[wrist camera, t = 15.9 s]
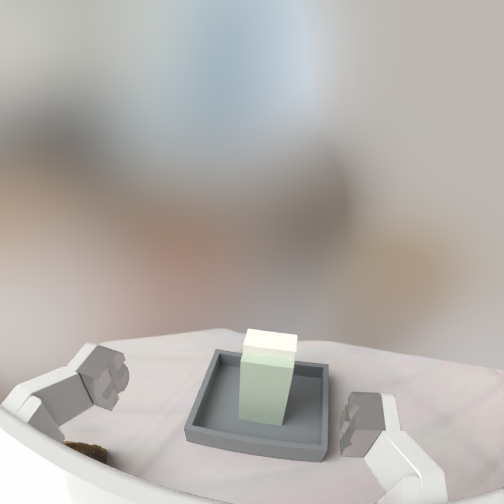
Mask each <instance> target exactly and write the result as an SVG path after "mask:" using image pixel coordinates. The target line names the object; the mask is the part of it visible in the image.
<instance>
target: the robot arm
mask: <svg viewBox="0 0 504 504" xmlns="http://www.w3.org/2000/svg"><path fill="white" fill-rule="evenodd" d="M124 361H125V357H124V354H123V353H121V352H118V351H115V350H112V349H109V348H106V347H103V346H100V345H97V344H94V343H91V342H88V343H86V344H85V345H84V346H83V347H82V349H81V350H80V351H79V352H78V353H77V355H76V356H75V357H74V358H73V359H72V361H71V362H70V363H69V364H68V365H67V366H66V368H65V367H61V368H58V369H56V370H53V371H51V372H49V373H46V374H44V375H41V376H38V377H36V378H34V379H31V380H29V381H26V382H23V383H21V384H18V385H17V386H16V387H15V388H14V390H12V392H11V393H10V394H9V395H8V397H7V398H6V399H5V400H4V401H3V402H2V404H1V405H0V504H233V503H228V502H223V501H218V500H214V499H209V498H205V497H201V496H197V495H193V494H189V493H185V492H182V491H178V490H175V489H171V488H168V487H165V486H161V485H158V484H155V483H152V482H149V481H146V480H144V479H141V478H138V477H135V476H133V475H130V474H127V473H125V472H122V471H120V470H117V469H115V468H112V467H110V466H108V465H105V464H103V463H101V462H99V461H96V460H94V459H92V458H90V457H88V456H86V455H83V454H81V453H79V452H77V451H75V450H73V449H71V448H69V447H68V446H66V445H64V444H62V442H63V441H64V439H65V437H64V434H63V433H62V431H61V430H60V428H59V426H61V425H62V424H64V423H66V422H67V421H69V420H71V419H72V418H74V417H76V416H77V415H79V414H81V413H82V412H84V411H85V410H87V409H89V408H90V407H92V406H93V405H96V406H99V407H102V408H104V409H107V410H110V411H112V409H113V408H114V406H115V405H116V403H117V401H118V400H119V396H118V393H120V392H122V391H124V390H125V388H126V386H127V384H128V381H129V371H128V368H127V367H126V366H125V364H124ZM340 431H341V432H342V433H343V437H342V439H341V441H340V457H360V458H363V459H364V460H365V462H366V463H367V465H368V467H369V468H370V470H371V471H372V473H373V474H374V476H375V477H376V479H377V480H378V482H379V483H380V485H381V486H382V488H383V489H384V491H385V493H386V494H385V495H384V496H383V497H382V498H381V499H380V500H379V501H378V502H377V503H375V504H504V487H503V488H500V489H497V490H494V491H490V492H487V493H484V494H480V495H476V496H473V497H469V498H465V499H461V500H456V501H452V502H448V497H447V490H446V484H445V477H444V472H443V470H442V469H441V468H440V467H439V466H438V465H437V464H436V463H435V462H434V461H433V460H432V459H431V458H430V457H429V456H428V454H427V453H426V452H425V451H424V450H423V449H422V448H421V447H420V446H419V445H418V444H417V443H416V442H415V441H414V440H413V438H412V437H411V436H410V435H409V434H408V433H407V432H406V431H405V430H401V426H400V421H399V415H398V409H397V404H396V399H395V395H394V394H393V393H367V392H351V394H350V395H349V398H348V405H346V406H345V407H344V410H343V412H342V417H341V424H340Z"/></svg>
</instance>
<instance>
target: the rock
mask: <svg viewBox="0 0 504 504" xmlns="http://www.w3.org/2000/svg"><path fill="white" fill-rule="evenodd" d="M62 444H64V445H66V446H68V447H69V448H71V449H73V450H75V451H77V452H79V453H81V454H83V455H86V456H88V457H90V458H92V459H94V460H96V461H99V462H101V463H103V464H105V463H106V454H105V449H104V448H102V447H101V446H98V445H89V444H84V443H81V442H79V443H76V442H69V441H67V442H62Z"/></svg>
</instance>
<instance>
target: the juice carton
mask: <svg viewBox="0 0 504 504" xmlns="http://www.w3.org/2000/svg"><path fill="white" fill-rule="evenodd" d="M296 348H297V335H293V334H285V333H277V332H269V331H262V330H255V329H248V331H247V334H246V338H245V341H244V344H243V354H242V358H241V362H240V391H239V419H240V420H246V421H252V422H259V423H266V424H273V425H281V426H282V422H283V418H284V413H285V409H286V404H287V399H288V395H289V390H290V385H291V380H292V375H293V370H294V362H295V355H296Z"/></svg>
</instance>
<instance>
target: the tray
mask: <svg viewBox="0 0 504 504" xmlns="http://www.w3.org/2000/svg"><path fill="white" fill-rule="evenodd" d="M241 358H242V353H236V352H230V351H224V350H218V349H216V350H215V353H214V355H213V358H212V360H211V363H210V365H209V368H208V370H207V373H206V375H205V378H204V380H203V382H202V385H201V387H200V390H199V392H198V395H197V397H196V400H195V402H194V405H193V407H192V410H191V412H190V415H189V417H188V420H187V422H186V425H185V427H184V430H185V435H186V439H187V441H189V442H193V443H197V444H201V445H205V446H210V447H214V448H219V449H224V450H229V451H234V452H240V453H245V454H251V455H258V456H265V457H272V458H280V459H289V460H299V461H311V462H322V460H323V458H324V456H325V454H326V452H327V446H328V400H329V376H328V364H319V363H309V362H300V361H295V362H294V370H293V375H292V380H291V385H290V390H289V395H288V399H287V404H286V409H285V413H284V418H283V422H282V426H281V425H273V424H266V423H259V422H252V421H246V420H240V419H239V391H240V362H241Z"/></svg>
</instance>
